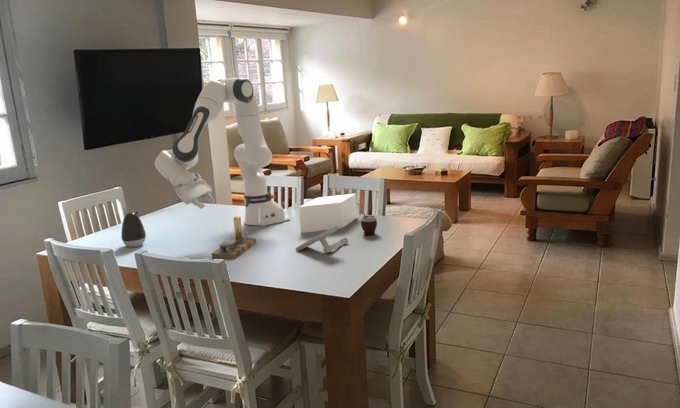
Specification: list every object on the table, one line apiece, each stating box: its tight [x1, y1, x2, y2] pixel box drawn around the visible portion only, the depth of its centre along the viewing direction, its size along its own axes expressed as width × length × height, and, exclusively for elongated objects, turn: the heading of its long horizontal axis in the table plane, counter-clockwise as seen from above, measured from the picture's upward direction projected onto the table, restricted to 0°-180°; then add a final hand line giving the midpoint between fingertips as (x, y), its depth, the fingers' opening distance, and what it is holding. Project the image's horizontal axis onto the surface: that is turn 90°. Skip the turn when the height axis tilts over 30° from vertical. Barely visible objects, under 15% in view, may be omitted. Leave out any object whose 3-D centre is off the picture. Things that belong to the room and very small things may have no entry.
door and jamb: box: [211, 237, 257, 260], centre depth 238 cm, size 22×10×5 cm, turn 166°
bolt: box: [232, 216, 245, 246], centre depth 239 cm, size 10×3×10 cm, turn 166°
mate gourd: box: [355, 201, 378, 237], centre depth 249 cm, size 8×8×15 cm
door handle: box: [295, 225, 349, 254], centre depth 233 cm, size 18×8×20 cm
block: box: [298, 193, 358, 234], centre depth 269 cm, size 18×35×12 cm, turn 131°
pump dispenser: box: [121, 211, 147, 248], centre depth 251 cm, size 10×10×15 cm
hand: (208, 205), depth 242 cm, fingers open, 8 cm apart
